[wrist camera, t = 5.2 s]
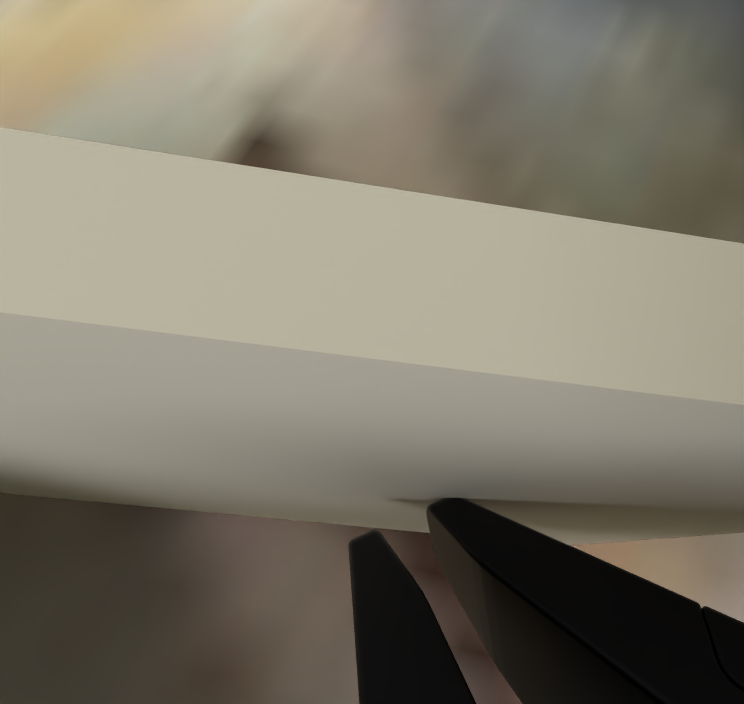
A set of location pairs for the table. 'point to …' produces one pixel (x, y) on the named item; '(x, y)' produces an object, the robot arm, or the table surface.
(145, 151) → the side door
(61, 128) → the table surface
